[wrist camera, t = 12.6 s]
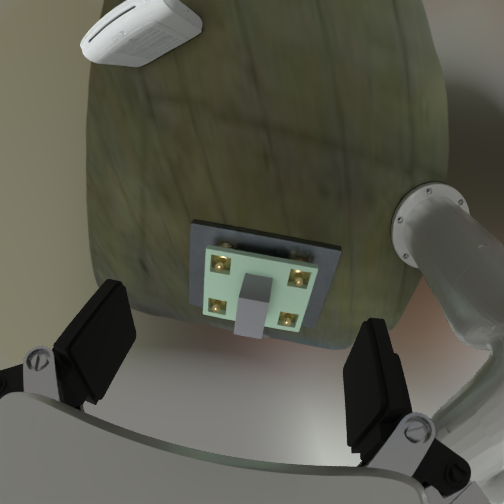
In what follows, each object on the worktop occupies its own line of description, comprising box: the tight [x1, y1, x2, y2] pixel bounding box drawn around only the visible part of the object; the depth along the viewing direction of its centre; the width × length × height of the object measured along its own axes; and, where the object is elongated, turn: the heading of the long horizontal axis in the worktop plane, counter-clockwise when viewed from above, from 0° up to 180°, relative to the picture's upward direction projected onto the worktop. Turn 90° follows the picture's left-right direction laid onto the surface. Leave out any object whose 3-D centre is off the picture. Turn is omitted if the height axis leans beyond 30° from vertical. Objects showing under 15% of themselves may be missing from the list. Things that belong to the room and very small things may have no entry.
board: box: [203, 245, 318, 339], centre depth 37 cm, size 14×11×6 cm
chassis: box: [189, 220, 342, 328], centre depth 40 cm, size 20×14×5 cm
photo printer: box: [80, 0, 202, 67], centre depth 22 cm, size 10×4×12 cm, turn 113°
